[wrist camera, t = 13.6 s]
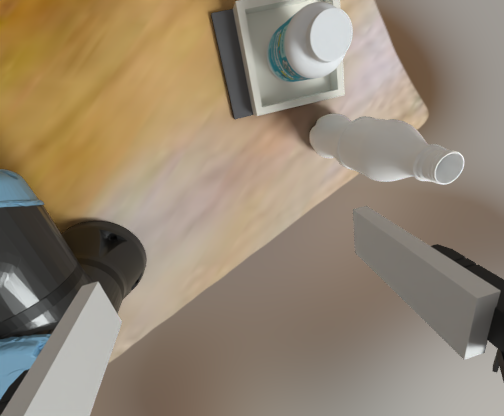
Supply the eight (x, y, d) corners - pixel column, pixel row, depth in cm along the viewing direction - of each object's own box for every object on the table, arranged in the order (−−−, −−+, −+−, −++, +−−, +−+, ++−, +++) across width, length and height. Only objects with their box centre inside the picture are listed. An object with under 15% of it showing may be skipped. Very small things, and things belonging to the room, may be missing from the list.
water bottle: (341, 152, 47) (472, 201, 25) (304, 156, 46) (406, 210, 24) (345, 111, 45) (496, 123, 22) (305, 114, 43) (421, 129, 21)
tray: (253, 114, 41) (257, 116, 38) (232, 8, 35) (235, 1, 33) (334, 95, 42) (344, 95, 40) (328, -11, 37) (338, -20, 34)
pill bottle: (256, 39, 37) (285, 9, 24) (303, 15, 37) (355, -27, 24) (276, 91, 40) (311, 88, 28) (319, 69, 40) (372, 56, 28)
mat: (234, 118, 42) (234, 119, 41) (211, 15, 36) (211, 13, 35) (338, 94, 43) (340, 94, 42) (332, -10, 37) (334, -12, 37)
